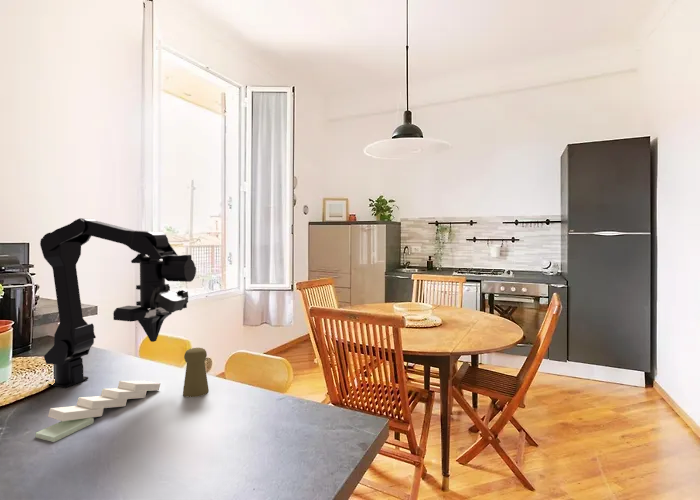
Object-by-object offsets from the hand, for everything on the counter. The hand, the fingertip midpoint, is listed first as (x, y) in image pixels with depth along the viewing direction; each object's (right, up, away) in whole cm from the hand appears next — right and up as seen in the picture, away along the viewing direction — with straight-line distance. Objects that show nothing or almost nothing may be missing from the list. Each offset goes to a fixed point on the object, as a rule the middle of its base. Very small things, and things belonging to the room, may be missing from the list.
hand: (153, 341), depth 100 cm
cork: (+12, -12, -2) cm, 17 cm away
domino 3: (-1, -11, -5) cm, 12 cm away
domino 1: (-5, -12, -15) cm, 19 cm away
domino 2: (-3, -12, -10) cm, 15 cm away
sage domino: (-5, -13, -18) cm, 22 cm away
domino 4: (0, -11, -1) cm, 11 cm away
